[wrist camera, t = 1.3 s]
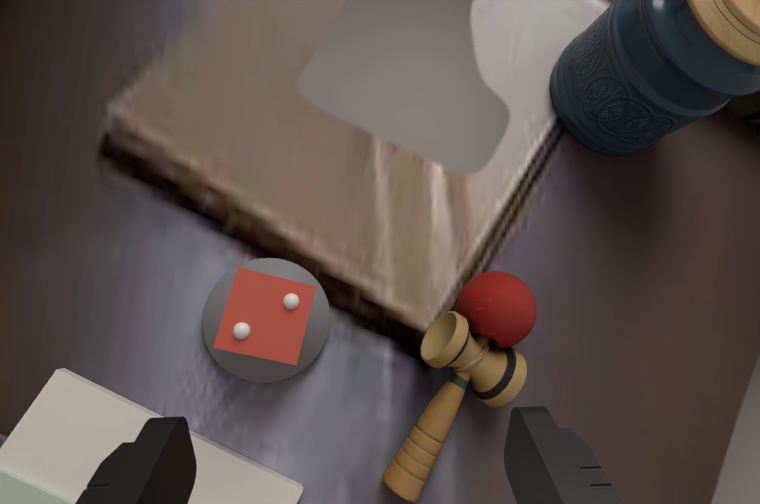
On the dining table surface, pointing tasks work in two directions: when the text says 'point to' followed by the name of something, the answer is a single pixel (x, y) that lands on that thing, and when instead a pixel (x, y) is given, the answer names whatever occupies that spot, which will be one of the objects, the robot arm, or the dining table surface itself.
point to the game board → (101, 437)
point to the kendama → (467, 368)
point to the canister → (655, 69)
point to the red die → (266, 320)
